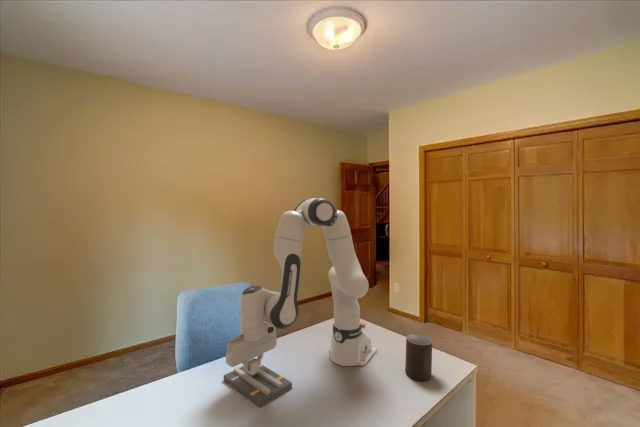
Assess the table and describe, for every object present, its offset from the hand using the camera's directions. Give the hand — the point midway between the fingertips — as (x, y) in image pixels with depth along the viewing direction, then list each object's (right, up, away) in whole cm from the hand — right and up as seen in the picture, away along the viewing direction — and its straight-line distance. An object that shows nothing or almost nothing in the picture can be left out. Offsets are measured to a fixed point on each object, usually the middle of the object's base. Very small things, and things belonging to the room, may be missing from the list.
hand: (252, 368), depth 109 cm
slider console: (+2, -5, -2) cm, 6 cm away
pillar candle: (+63, -5, +5) cm, 64 cm away
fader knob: (0, -3, 0) cm, 3 cm away
